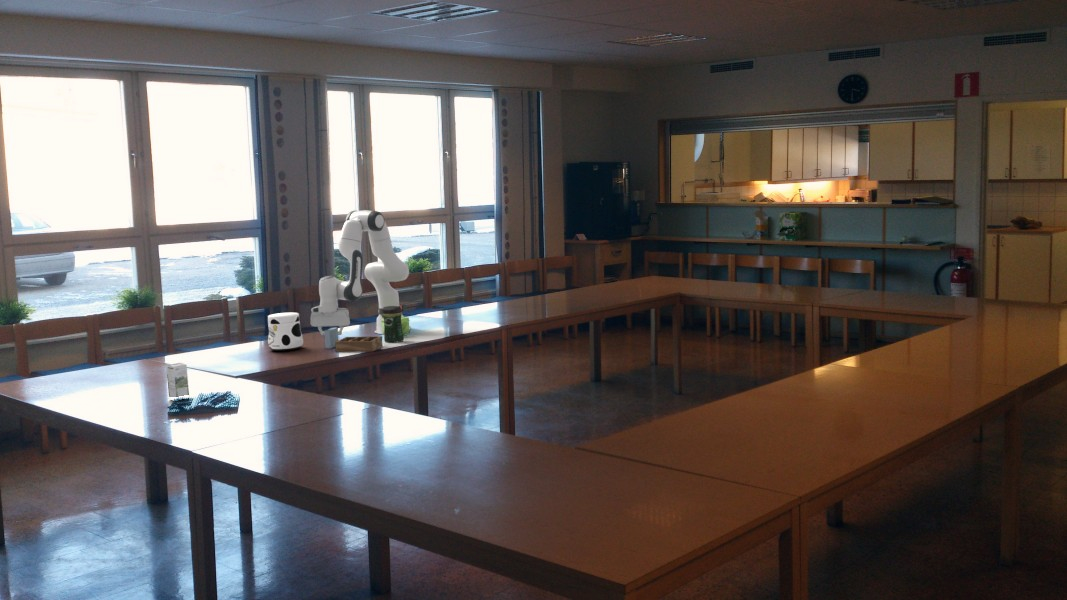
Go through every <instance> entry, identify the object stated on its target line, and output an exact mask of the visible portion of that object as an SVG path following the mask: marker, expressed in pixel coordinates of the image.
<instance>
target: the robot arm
mask: <svg viewBox="0 0 1067 600" xmlns="http://www.w3.org/2000/svg"><path fill="white" fill-rule="evenodd" d="M345 217H346V218H345V222H344V223H343V225H342V227H341V228H342V229H341V232H340V237H339V241H338V242H339V243H338V251H339V253H340V254H341V255H342V256H343V257H344V258H346V259H347V260H348V262H349V267H350V268H349V269H350V270H349V280H347V281H346V280H341V279H339V278H338V277H337V278H336V277H335V276H334V275H325V276H323V277H321V278H320V279H319V283H318V292H319V293H318V294H319V299H320V301H319V305H317V306H315V307H312V308H311V309H310V311H311V313H310V325H311V327H316V328H317V329H318V330H317V331H319V333H320V336H325V333H324V331H325V330H324V331H323V329H322V328H323V327H339V330H338V336H342V334H343V329H344V327H348V326H349V325H350V324H351V320H350V313H349V309H348V308H346V307H339V302H338V300H342V301H348V302H358V301H359V300H360V299H361V298H362V295H363V290H364V289H363V279H362V278H363V254H362V250H361V249H362V240H363V233H364V232H368V239H369V244H370V249H371V253H372V254H373V256H374V257H376V258H378V259H379V260H380V261H373V262H370V263H367V264H366V265H365V267H364V276H365V278H366V280H368V281H369V282H370V283H371V284H372V286H373V287H374V288H375V291H376V294H377V299H378V310H377V312H378V316H377V317H376V330H374V333H376V334H380V335H384V334H383V322H382V321H383V319H384V318H383V315H382V314H383V313H382V311H383V307H387V306H400V307H401V310H402V309H403V307H402V305H400V297H399V295H400V294H399V291H398V290H397V289H395V288H393V287H392V286H391V284H390V282H391V283H392V282H394V283H395V282H397V283H398V282H402V281H405V280H407V278H408V277H409V275H410V269H409V266H408V264H407V263H406V262H404V261H402V260H401V259H400V257H398V255H397V254H396V253H395V250H394V248H393V243H392V239H391V236H390V231H389V228H388V225H387V223H386V221H385V218H384V215H383V213H381V212H379V211H377V210H367V209H364V210H351V211H349V212H348V214H346V216H345ZM401 317H405V316H404V315H403V314H402V315H401ZM409 329H410V330H411V326H410V325H409Z"/></svg>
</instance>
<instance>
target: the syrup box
mask: <svg viewBox="0 0 1067 600" xmlns="http://www.w3.org/2000/svg"><path fill="white" fill-rule="evenodd" d="M187 365H188V364H186V363H184V362H177V363H171V364H167V365H166V366H165V367H166V369H165V370H166V380H167V391H168V398H169V397H179V396H184V395H189V396H190V391H189V390H190V389H189V379H188V377H189V376H188V367H187Z"/></svg>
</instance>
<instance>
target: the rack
mask: <svg viewBox="0 0 1067 600" xmlns="http://www.w3.org/2000/svg"><path fill="white" fill-rule="evenodd" d="M338 340H339V341H336V342H335V345H336V346H335V352H336V353H346V352H347V353H348V352H349V353H353V352H355V353H357V352H358V353H360V352H361V353H362V352H363V353H365V352H370V353H371V352H374V351H376V350H378V349H380V348H382V347H383V336H381V335H380V336H379V335H378V336H345V337H343V338H341V339H338Z"/></svg>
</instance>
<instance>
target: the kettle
mask: <svg viewBox="0 0 1067 600" xmlns="http://www.w3.org/2000/svg"><path fill="white" fill-rule="evenodd" d="M382 322H383V334H382V335H384V319H383V321H382ZM410 322H411V321H410V318H409V317H406V316H404V317H401V324H402V331H403V337H406V336H407V335H406V334H409V333H410V332H411V331H410V330H411V328H410V329H409V326H410Z"/></svg>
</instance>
